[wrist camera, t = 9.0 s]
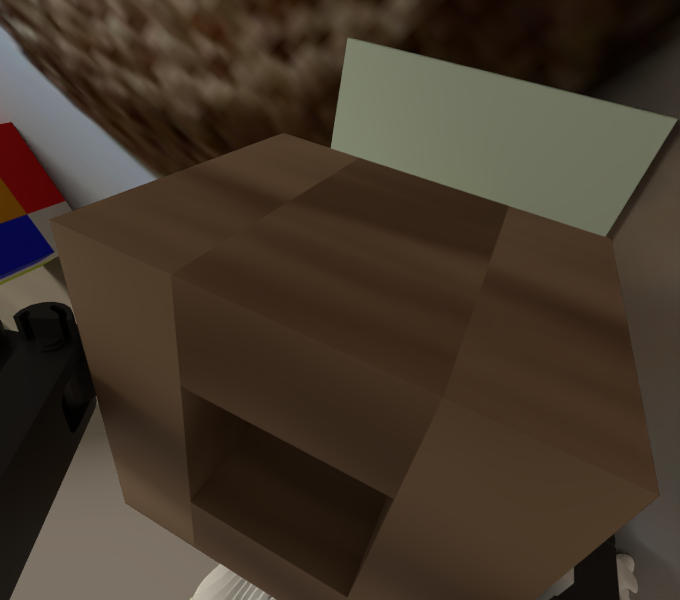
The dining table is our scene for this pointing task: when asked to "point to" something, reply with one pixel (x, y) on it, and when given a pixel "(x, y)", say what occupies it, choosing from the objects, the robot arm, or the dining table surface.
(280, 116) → the dining table surface
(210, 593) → the shell sculpture
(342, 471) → the hollow square sleeve
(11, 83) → the dining table surface
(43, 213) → the puzzle toy
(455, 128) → the square base plate
